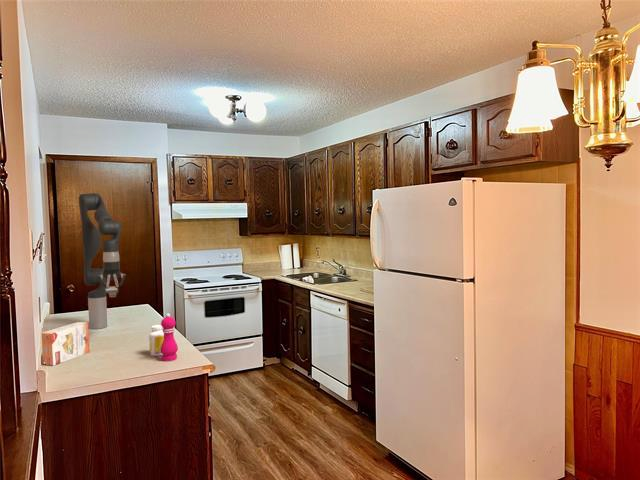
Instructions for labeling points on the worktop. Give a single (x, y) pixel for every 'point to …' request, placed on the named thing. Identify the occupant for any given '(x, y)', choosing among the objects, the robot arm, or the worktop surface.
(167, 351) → the pepper mill
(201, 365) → the worktop surface
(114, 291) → the tan flat bar
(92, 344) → the worktop surface
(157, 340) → the supplement bottle
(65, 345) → the cracker box
